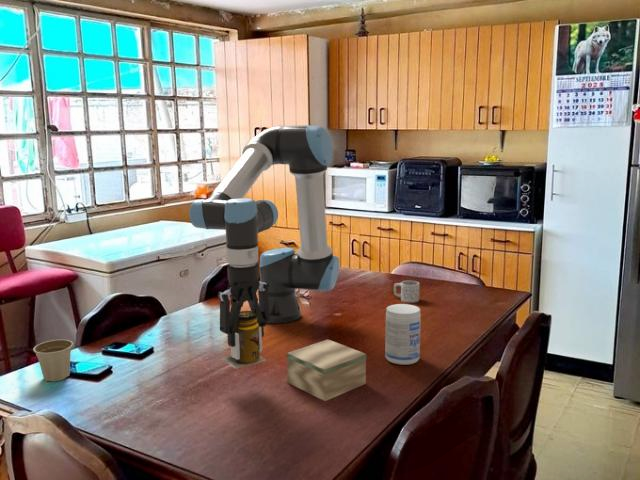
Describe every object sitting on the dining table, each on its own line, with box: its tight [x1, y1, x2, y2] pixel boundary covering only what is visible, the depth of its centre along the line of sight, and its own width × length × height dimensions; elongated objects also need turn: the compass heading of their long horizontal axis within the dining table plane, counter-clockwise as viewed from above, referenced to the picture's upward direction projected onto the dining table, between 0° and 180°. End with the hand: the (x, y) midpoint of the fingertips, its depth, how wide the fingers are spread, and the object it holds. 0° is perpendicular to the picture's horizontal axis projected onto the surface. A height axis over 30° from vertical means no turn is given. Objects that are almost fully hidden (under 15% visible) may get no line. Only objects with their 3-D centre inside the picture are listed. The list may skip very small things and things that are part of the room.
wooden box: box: [286, 339, 368, 402], centre depth 149 cm, size 14×14×8 cm
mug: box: [393, 280, 420, 304], centre depth 220 cm, size 10×7×7 cm
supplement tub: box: [384, 303, 422, 366], centre depth 163 cm, size 10×10×15 cm
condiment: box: [222, 310, 267, 370], centre depth 145 cm, size 7×8×12 cm
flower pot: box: [32, 339, 74, 383], centre depth 154 cm, size 9×9×9 cm
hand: (246, 353), depth 147 cm, fingers closed on condiment, 6 cm apart
